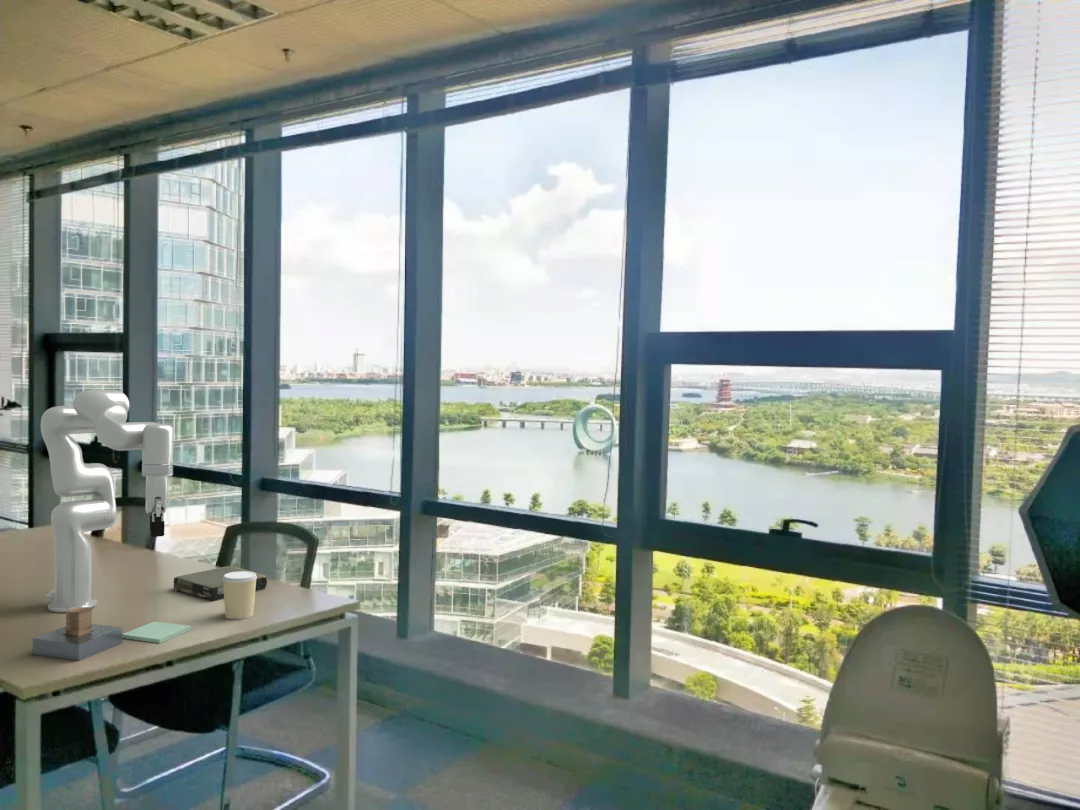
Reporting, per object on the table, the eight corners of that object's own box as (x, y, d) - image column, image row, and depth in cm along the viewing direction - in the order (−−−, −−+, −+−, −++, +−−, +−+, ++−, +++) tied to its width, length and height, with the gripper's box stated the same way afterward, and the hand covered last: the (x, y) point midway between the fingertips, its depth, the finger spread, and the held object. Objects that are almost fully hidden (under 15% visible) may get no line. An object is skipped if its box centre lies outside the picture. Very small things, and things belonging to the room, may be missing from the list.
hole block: (32, 654, 199) (32, 638, 199) (78, 636, 213) (78, 622, 212) (78, 660, 195) (78, 644, 195) (122, 642, 209) (122, 627, 209)
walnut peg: (65, 650, 203) (66, 610, 202) (78, 645, 206) (78, 606, 206) (78, 651, 202) (79, 612, 201) (91, 646, 205) (91, 608, 205)
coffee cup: (260, 610, 240) (261, 571, 240) (250, 620, 231) (250, 579, 231) (228, 610, 240) (229, 570, 240) (217, 619, 231) (218, 578, 230)
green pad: (121, 638, 213) (121, 634, 213) (154, 625, 224) (154, 621, 224) (159, 643, 210) (159, 639, 210) (190, 629, 221) (190, 626, 221)
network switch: (165, 593, 258) (165, 577, 258) (224, 578, 278) (225, 563, 278) (216, 604, 247) (216, 588, 247) (273, 588, 268) (274, 573, 267)
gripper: (141, 466, 222) (140, 528, 223) (142, 474, 207) (142, 540, 207) (171, 466, 226) (170, 526, 226) (174, 473, 210) (173, 538, 211)
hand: (156, 532), depth 217 cm, fingers open, 9 cm apart
